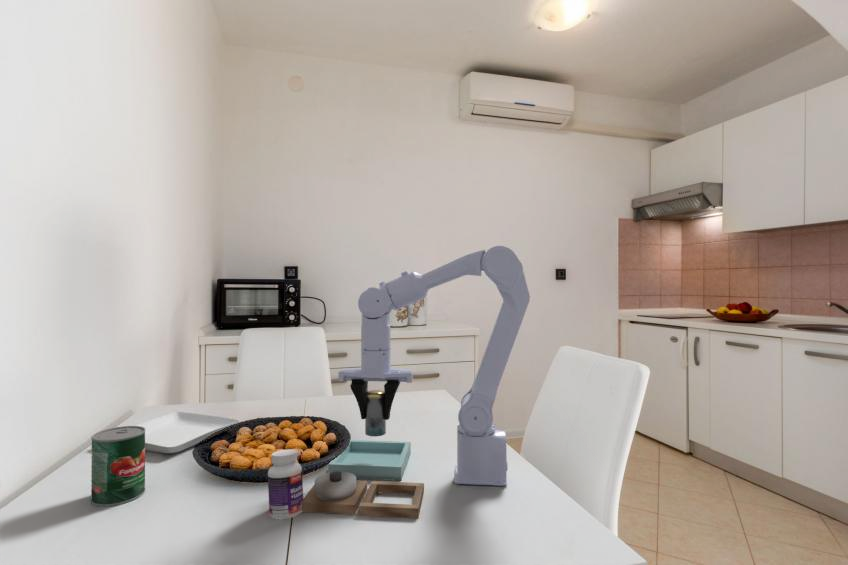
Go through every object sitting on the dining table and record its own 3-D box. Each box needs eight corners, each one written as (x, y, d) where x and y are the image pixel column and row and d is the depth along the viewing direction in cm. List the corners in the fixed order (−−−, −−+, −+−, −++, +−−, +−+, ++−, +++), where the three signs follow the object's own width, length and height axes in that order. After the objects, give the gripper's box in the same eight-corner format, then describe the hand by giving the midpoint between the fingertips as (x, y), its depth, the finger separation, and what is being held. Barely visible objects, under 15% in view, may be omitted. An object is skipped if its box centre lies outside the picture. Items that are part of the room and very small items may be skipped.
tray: (410, 453, 101) (410, 441, 101) (401, 480, 88) (401, 467, 88) (347, 451, 103) (347, 439, 103) (328, 477, 89) (328, 464, 89)
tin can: (388, 430, 93) (388, 390, 93) (381, 437, 89) (381, 395, 89) (369, 429, 94) (369, 389, 94) (362, 435, 90) (362, 394, 90)
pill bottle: (297, 520, 73) (294, 456, 74) (263, 521, 73) (261, 458, 74) (308, 506, 78) (305, 446, 79) (277, 507, 79) (274, 448, 79)
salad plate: (172, 462, 97) (172, 445, 97) (98, 450, 104) (98, 435, 104) (242, 431, 117) (242, 418, 117) (176, 423, 124) (177, 410, 124)
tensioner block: (424, 491, 83) (424, 466, 83) (418, 518, 73) (418, 489, 73) (318, 487, 85) (318, 462, 85) (300, 512, 75) (300, 484, 75)
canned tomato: (133, 504, 78) (133, 438, 78) (81, 508, 77) (81, 441, 77) (152, 484, 86) (152, 424, 86) (105, 487, 84) (105, 426, 84)
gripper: (414, 346, 95) (414, 413, 95) (344, 345, 96) (344, 411, 96) (410, 351, 88) (410, 423, 88) (335, 350, 89) (335, 421, 89)
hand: (375, 418), depth 92 cm, fingers closed on tin can, 4 cm apart
